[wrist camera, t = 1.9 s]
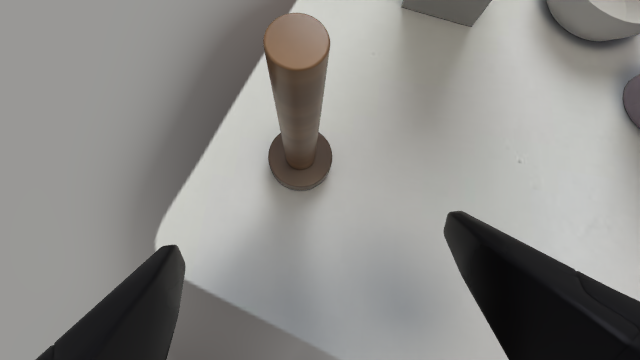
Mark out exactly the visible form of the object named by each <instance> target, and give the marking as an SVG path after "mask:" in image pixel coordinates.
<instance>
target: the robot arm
mask: <svg viewBox="0 0 640 360" xmlns="http://www.w3.org/2000/svg"><path fill="white" fill-rule="evenodd" d="M444 236H445V239H446V241H447V243H448V246H449V248H450V250H451V253H452V255H453V257H454V260H455V262H456V264H457V266H458V269H459V271H460V273H461V275H462V277H463V279H464V281H465V283H466V285H467V286H468V288H469V290H470V292H471V293H472V295H473V297H474V299H475V300H476V302H477V304H478V306H479V307H480V309H481V311H482V313H483V315H484V316H485V318H486V320H487V322H488V323H489V325H490V327H491V329H492V330H493V332H494V334H495V336H496V338H497V339H498V341H499V343H500V345H501V346H502V348H503V350H504V352H505V353H506V355H507V357H508V359H509V360H640V302H639V301H637V300H635V299H633V298H631V297H629V296H627V295H625V294H622V293H620V292H618V291H616V290H614V289H612V288H610V287H608V286H606V285H604V284H602V283H600V282H598V281H596V280H594V279H592V278H590V277H588V276H586V275H584V274H583V273H581V272H579V271H575V270H574V269H573V268H571V267H569V266H567V265H565V264H563V263H561V262H559V261H557V260H555V259H553V258H552V257H550V256H548V255H546V254H544V253H542V252H540V251H538V250H536V249H534V248H532V247H530V246H528V245H526V244H525V243H523V242H521V241H519V240H517V239H515V238H513V237H511V236H509V235H507V234H505V233H503V232H501V231H499V230H498V229H496V228H494V227H492V226H490V225H488V224H486V223H484V222H482V221H480V220H478V219H476V218H474V217H472V216H471V215H469V214H467V213H465V212H463V211H454V212H450V213H449V214H448V215H447V219H446V223H445V227H444ZM184 275H185V262H184V259H183V257H182V255H181V252H180V250H179V248H178V246H177V245H168V246H163V247H161V248H160V249H159V250H157V251H156V252H155V253H154V254H153V255H152V256H151V257H150V258H149V259H147V260H146V261H145V262H144V263H143V264H142V265H141V266H140V267H138V268H137V269H136V270H135V271H134V272H133V273H132V274H131V275H130V276H128V277H127V278H126V279H125V280H124V281H123V282H122V283H121V284H120V285H118V286H117V287H116V288H115V289H114V290H113V291H112V292H111V293H110V294H108V295H107V296H106V297H105V298H104V299H103V300H102V301H101V302H99V303H98V304H97V305H96V306H95V307H94V308H93V309H92V310H91V311H89V312H88V313H87V314H86V315H85V316H84V317H83V318H82V319H81V320H79V322H77V323H76V324H75V325H74V326H73V327H72V328H71V329H69V330H68V331H67V332H66V333H65V334H64V335H63V336H62V337H61V338H59V339H58V340H57V341H56V342H55V344H54V345H53V346H50V347H49V348H48V349H47V350H46V351H45V352H44V353H42V354H41V355H40V356H39V357H38V358H37V359H36V360H166V359H167V355H168V351H169V348H170V344H171V340H172V337H173V333H174V329H175V326H176V322H177V318H178V313H179V307H180V301H181V294H182V287H183V281H184Z"/></svg>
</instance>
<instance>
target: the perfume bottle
mask: <svg viewBox="0 0 640 360" xmlns="http://www.w3.org/2000/svg"><path fill="white" fill-rule="evenodd" d="M491 1H492V0H403V3H402V7H403V8H407V9H410V10H414V11H417V12H421V13H424V14H428V15H432V16H435V17H439V18H442V19H446V20H449V21H453V22H456V23H460V24H463V25H467V26H470V27H472V25H473V24H474V23H475V22H476V20H477V19H478V18H479V16H480V15H481V14H482V12H483V11H484V10H485V9H486V7H487V6H488V5H489V3H490V2H491Z"/></svg>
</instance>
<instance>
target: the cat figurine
mask: <svg viewBox="0 0 640 360" xmlns="http://www.w3.org/2000/svg"><path fill="white" fill-rule="evenodd" d="M623 100H624V105H625V109H626V111H627V113H628V115H629V117H630V118H631V119H632V121H633V122H634V123H635V124H636V125H637V126H638V127H639V128H640V74H639V75H638V76H636V77H634V78H633V79H631V80H630V81H629V82H628V84H627V85H626V87H625V89H624V95H623Z"/></svg>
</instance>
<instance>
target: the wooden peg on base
mask: <svg viewBox="0 0 640 360" xmlns="http://www.w3.org/2000/svg"><path fill="white" fill-rule="evenodd" d="M263 42H264V50H265V55H266V60H267V65H268V70H269V75H270V80H271V85H272V90H273V95H274V100H275V105H276V111H277V116H278V121H279V126H280V131H281V133H280V134H279V135H278V136H277V137H276V138H275V139H274V140H273V142H272V144H271V146H270V149H269V155H268V158H269V165H270V168H271V170H272V173H273V174H274V176H275V178H276V179H277V180H278V181H279V182H280V183H281V184H282V185H284V186H285V187H287V188H290V189H293V190H308V189H311V188H314V187H316V186H317V185H319V184H320V183H321V182H322V181H323V180H324V179H325V178H326V176H327V174H328V172H329V169H330V166H331V163H332V151H331V148H330V145H329V143H328V141H327V140H326V139H325V137H324V136H323V135H322V134H320V133H319V132H318V131H319V124H320V117H321V109H322V102H323V94H324V87H325V80H326V72H327V65H328V57H329V50H330V38H329V35H328V32H327V30H326V29H325V27H324V26H323V24H322V23H321V22H320V21H318V20H317V19H315V18H314V17H312V16H309V15H306V14H302V13H290V14H285V15H282V16H280V17H278V18H277V19H275V20H274V21H273V22H272V23H271V24H270V25H269V26H268V28H267V30H266V32H265V35H264V40H263Z"/></svg>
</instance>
